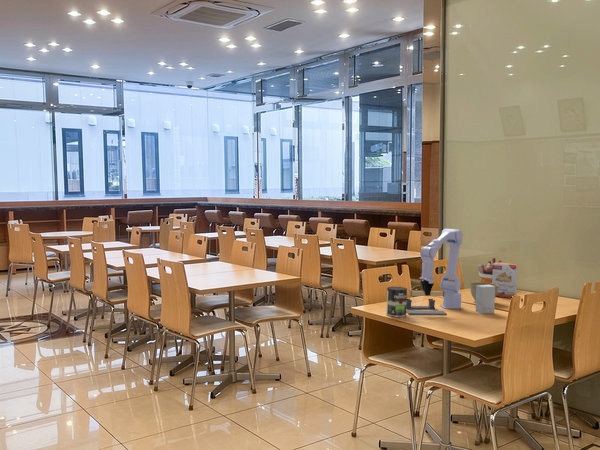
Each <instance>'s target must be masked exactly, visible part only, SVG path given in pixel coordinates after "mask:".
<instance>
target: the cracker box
mask: <svg viewBox="0 0 600 450" xmlns="http://www.w3.org/2000/svg"><path fill="white" fill-rule="evenodd" d="M492 265H493V276H492V284H497V285H499V287H498V293H497V295H496V297H501V298H509V299H512V298H511V297H512V296H514V295H516V296H517V291H518V290H517V288H518V271H519V270H518V268H519V267H518V266H519V265H518V264H517V263H516V264H515V263H508V262H506V263H505V262H501V263H498V262H495V263H492Z"/></svg>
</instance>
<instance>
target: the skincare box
mask: <svg viewBox="0 0 600 450" xmlns="http://www.w3.org/2000/svg"><path fill="white" fill-rule="evenodd" d="M495 298H496V297H495V286H492V285H476V302H475V312H476V313H478V314H480V315H486V314H495V300H496V299H495Z"/></svg>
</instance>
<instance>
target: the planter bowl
mask: <svg viewBox="0 0 600 450" xmlns="http://www.w3.org/2000/svg"><path fill="white" fill-rule="evenodd" d="M476 285H492V286H495V298H496V297H497V296H496V295H497V293H498V287H499V285H497V284H492V283H481V282H471V283H469V288H470V294H471V296H472V298H473V300H474V303H476Z"/></svg>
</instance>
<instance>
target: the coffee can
mask: <svg viewBox="0 0 600 450" xmlns="http://www.w3.org/2000/svg"><path fill="white" fill-rule="evenodd" d="M407 293H408V288H407V287H402V286H388V287H386V311H385V313H386V314H387V315H386V316H388V315H389V316H388V317H392V316H395V317H394V318H403V317H406V316H407V312H406V310H407V309H406V300H407V299H408V298H407V296H408V294H407Z"/></svg>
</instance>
